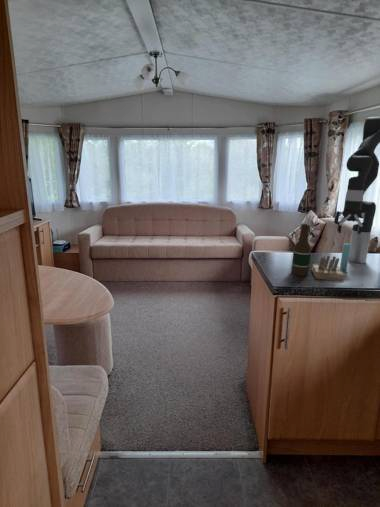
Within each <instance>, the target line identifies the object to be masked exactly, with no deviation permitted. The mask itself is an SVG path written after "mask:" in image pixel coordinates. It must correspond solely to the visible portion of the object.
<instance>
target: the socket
mask: <svg viewBox="0 0 380 507" xmlns="http://www.w3.org/2000/svg"><path fill="white" fill-rule="evenodd" d="M330 257H331V255H327V256H326V255H322V256H321V257H320V260H319V264H317V263H316V264H315V263H312V265H311V266H312V268H311V271H312V274H313V276H314V278H315V279H319V280H329V281H338V282H344V279H345V273H343V272H342V271H341V270H340V266H338V265H339V262H340V257H336V256H335V255H334V256H333V257H332V259H330Z"/></svg>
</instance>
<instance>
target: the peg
mask: <svg viewBox="0 0 380 507" xmlns="http://www.w3.org/2000/svg"><path fill="white" fill-rule="evenodd" d="M350 246H351V244H350V243H343V245H342V251H341V257H340V258H341V259H340V264H339V268H340V270H341V271H342V272H343V274H345V273H347V270H348V265H349V261H348V259H349V252H350Z"/></svg>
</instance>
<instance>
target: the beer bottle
mask: <svg viewBox="0 0 380 507" xmlns="http://www.w3.org/2000/svg"><path fill="white" fill-rule="evenodd" d="M309 228H310V224H307V223H302V224H301V225H300V232H299V238H298V240H297V241H296V243H295V245H294V247H293V252H292V262H291V274H293V275H294V276H298V277H306V276H308V274H309V271H310V270H309V269H310V260H311V253H312V248H311V245H310V243H309Z"/></svg>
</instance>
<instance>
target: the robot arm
mask: <svg viewBox="0 0 380 507" xmlns="http://www.w3.org/2000/svg"><path fill="white" fill-rule="evenodd" d="M379 144H380V116H370V117H366V118H365V121H364V123H363V129H362V141H361V142H360V144H359V146H358V148H357V150H355V152H353V153H352V154H351V155H350V156H349V157H348V160H347V161H346V169H347V170H348V171H350V172H357V175H356V176H352V177H350V178H349V179H348V182H347V188H346V192H345V199H344V206H343V211H339V210H337V211H335V216H334V221H333V222H334V224H335V225H337V230H336V231H337V232H338V234H341V233H342V225H343V224H344V223H345V222H346V221H347V222H356V224H353V225H352V229H351V236H350V242H349V244H351V246H350V252H349V259H348V262H351V263H355V264H365V263H366V262H367V257H368V251H369V246H370V238H371V234H372V229H373V225H374V221H375V220H374V218H375V214H376V210H377V205H376V203H375V202H374V201H369V200H368V201H367V200H364V195H365V193H366V192H367V190H368V188H369V187H370V186H372V184H373V183H374V181H375V180H376V179H377V177H378V174H379V169H380V168H379V167H380V161H379V158H378V157H377V155H376V152H375V150H376V148H377V146H379ZM341 216H343V217H342V218H341V219H340V220H339V218H340V217H341ZM360 219H363V221H361V220H360Z"/></svg>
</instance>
